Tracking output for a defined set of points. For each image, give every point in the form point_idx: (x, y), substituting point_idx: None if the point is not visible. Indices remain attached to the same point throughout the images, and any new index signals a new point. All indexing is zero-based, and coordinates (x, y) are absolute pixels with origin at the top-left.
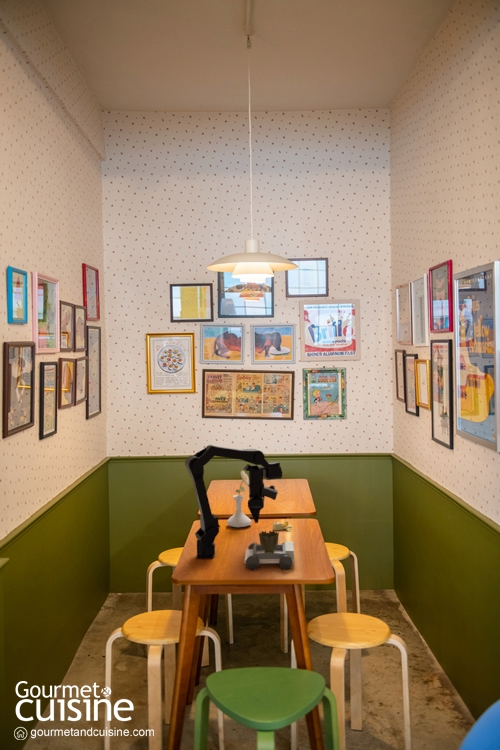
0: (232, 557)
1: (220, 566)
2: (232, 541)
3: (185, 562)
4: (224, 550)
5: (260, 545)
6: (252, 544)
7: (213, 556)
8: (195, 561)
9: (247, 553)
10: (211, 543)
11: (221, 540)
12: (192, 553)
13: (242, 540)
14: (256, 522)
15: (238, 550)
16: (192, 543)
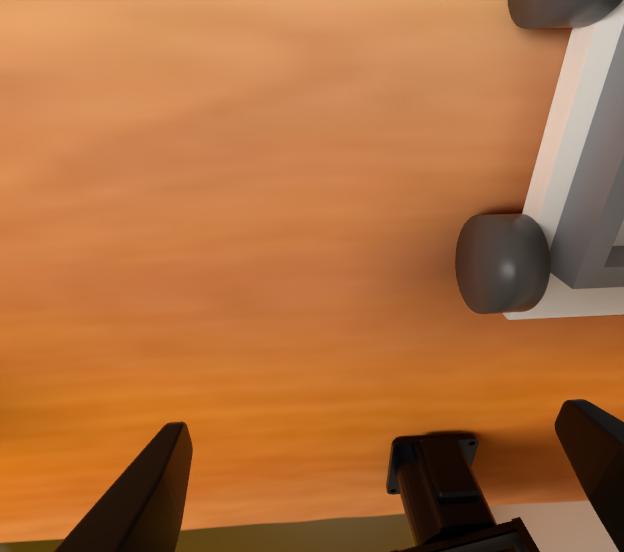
0: (473, 358)
1: (610, 390)
2: (142, 392)
3: (498, 502)
4: (333, 406)
5: (616, 232)
6: (540, 298)
7: (452, 436)
8: (494, 479)
9: (621, 303)
10: (488, 513)
11: (135, 441)
12: (373, 503)
13: (103, 344)
14: (582, 419)
15: (337, 344)
16: (215, 525)
